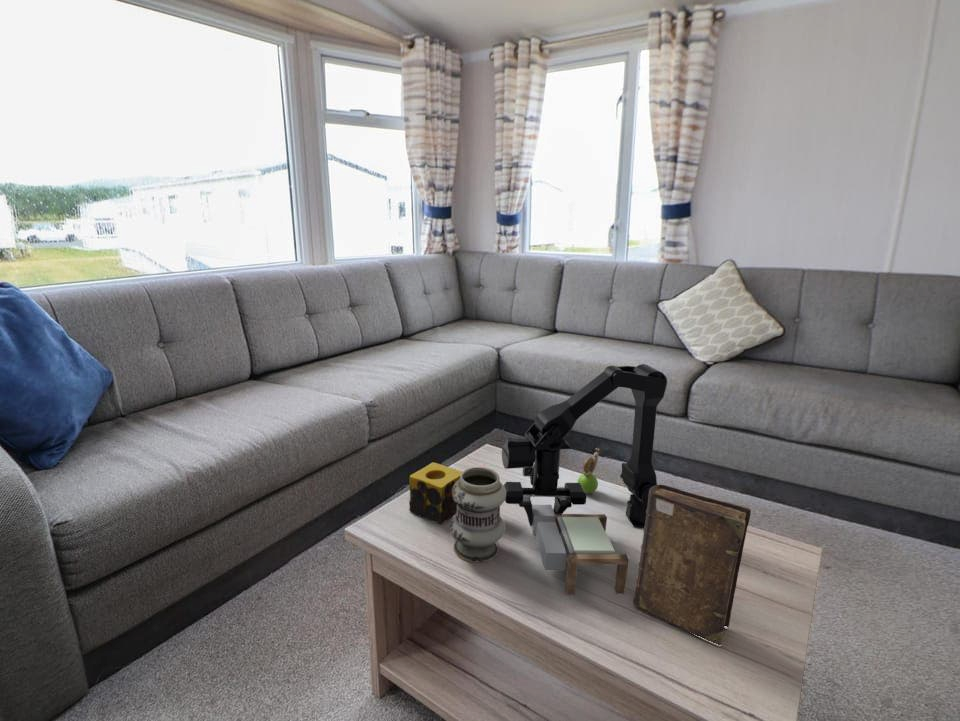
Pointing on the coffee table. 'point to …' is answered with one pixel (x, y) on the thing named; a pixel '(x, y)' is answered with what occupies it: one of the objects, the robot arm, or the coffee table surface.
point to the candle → (433, 492)
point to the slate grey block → (541, 515)
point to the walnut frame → (594, 559)
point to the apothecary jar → (477, 514)
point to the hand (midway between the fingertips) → (541, 524)
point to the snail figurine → (589, 474)
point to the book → (690, 560)
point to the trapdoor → (571, 540)
